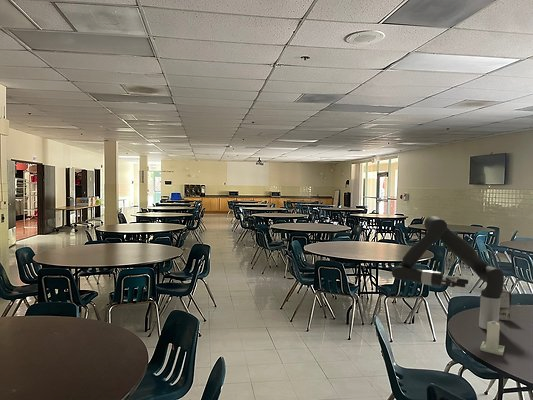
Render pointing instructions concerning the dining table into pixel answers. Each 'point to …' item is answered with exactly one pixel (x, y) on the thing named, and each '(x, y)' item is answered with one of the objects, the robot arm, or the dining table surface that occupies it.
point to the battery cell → (492, 335)
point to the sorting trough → (499, 352)
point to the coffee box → (505, 305)
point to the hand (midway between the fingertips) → (466, 283)
